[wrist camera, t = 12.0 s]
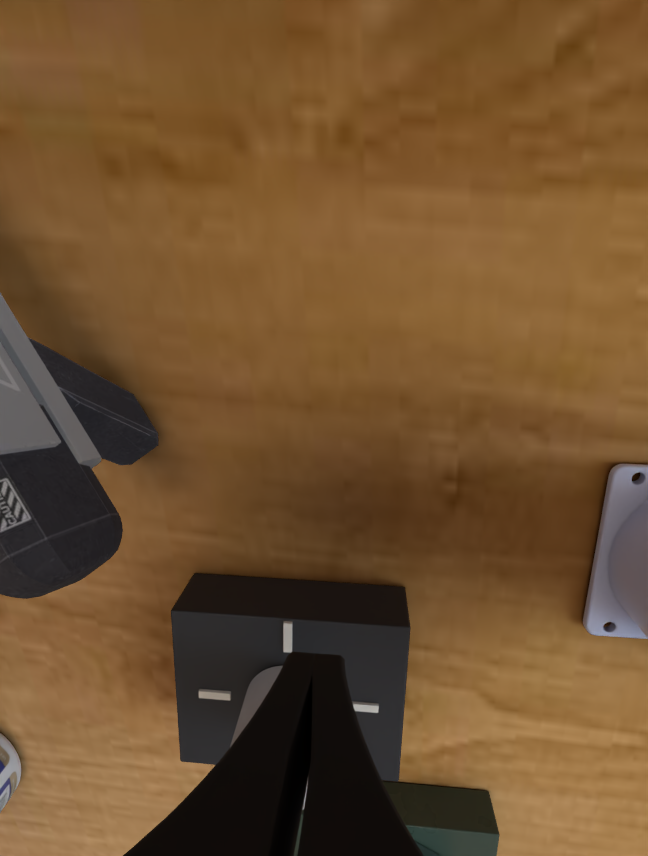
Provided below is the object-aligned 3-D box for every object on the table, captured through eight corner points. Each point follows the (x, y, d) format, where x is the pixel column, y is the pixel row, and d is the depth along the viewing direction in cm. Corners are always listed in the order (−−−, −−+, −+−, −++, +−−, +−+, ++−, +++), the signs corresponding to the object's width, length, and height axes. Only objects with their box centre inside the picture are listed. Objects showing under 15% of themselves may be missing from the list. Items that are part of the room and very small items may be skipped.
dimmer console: (405, 586, 23) (410, 630, 20) (395, 726, 25) (398, 786, 22) (193, 572, 24) (168, 612, 21) (200, 710, 26) (178, 765, 23)
